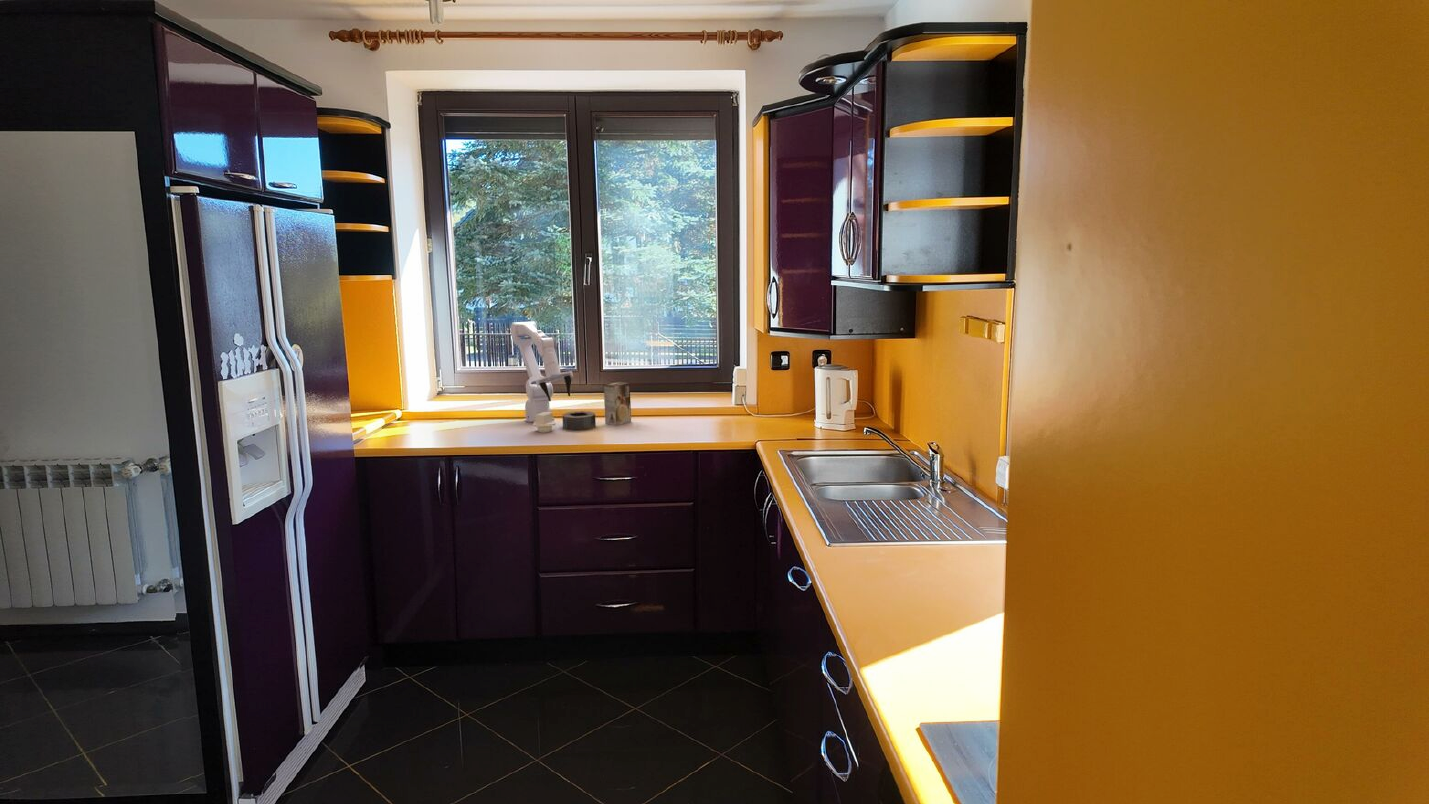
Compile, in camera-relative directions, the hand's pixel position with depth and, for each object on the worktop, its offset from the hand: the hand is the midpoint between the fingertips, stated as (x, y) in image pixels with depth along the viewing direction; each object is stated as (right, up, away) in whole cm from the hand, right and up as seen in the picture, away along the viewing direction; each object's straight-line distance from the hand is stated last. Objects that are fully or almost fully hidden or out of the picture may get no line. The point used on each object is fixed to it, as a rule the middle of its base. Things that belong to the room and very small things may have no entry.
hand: (559, 397), depth 325 cm
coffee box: (+21, -10, +15) cm, 28 cm away
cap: (-6, -13, +1) cm, 14 cm away
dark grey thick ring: (+6, -11, +8) cm, 15 cm away
